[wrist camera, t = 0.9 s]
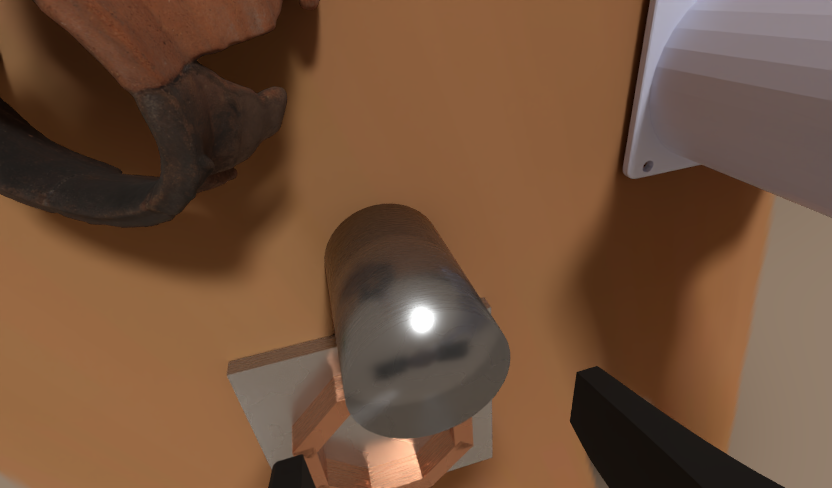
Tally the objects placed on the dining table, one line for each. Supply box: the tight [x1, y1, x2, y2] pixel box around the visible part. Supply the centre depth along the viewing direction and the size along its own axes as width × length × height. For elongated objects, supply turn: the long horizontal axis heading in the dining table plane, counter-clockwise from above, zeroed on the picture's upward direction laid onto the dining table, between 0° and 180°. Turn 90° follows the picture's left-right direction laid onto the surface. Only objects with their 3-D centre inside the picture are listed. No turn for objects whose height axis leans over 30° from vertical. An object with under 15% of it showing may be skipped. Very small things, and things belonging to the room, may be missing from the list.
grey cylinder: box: [325, 204, 510, 439], centre depth 15 cm, size 5×5×7 cm
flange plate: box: [227, 298, 492, 488], centre depth 22 cm, size 12×12×2 cm
